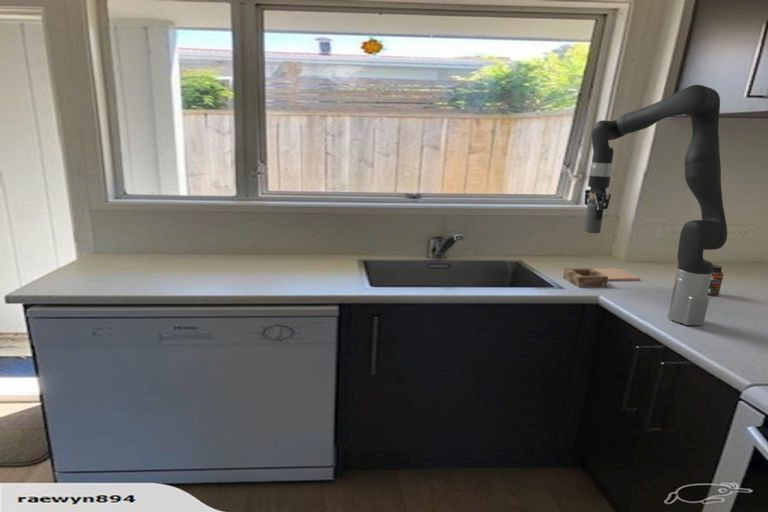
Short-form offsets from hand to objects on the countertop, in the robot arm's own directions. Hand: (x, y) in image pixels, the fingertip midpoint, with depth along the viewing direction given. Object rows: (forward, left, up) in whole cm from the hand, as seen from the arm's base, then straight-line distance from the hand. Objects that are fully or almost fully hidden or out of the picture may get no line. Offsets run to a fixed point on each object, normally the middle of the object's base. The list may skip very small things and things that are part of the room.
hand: (593, 217), depth 179 cm
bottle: (0, 0, -6) cm, 6 cm away
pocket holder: (0, 0, -27) cm, 27 cm away
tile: (+8, -18, -27) cm, 33 cm away
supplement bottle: (-16, -42, -27) cm, 52 cm away
